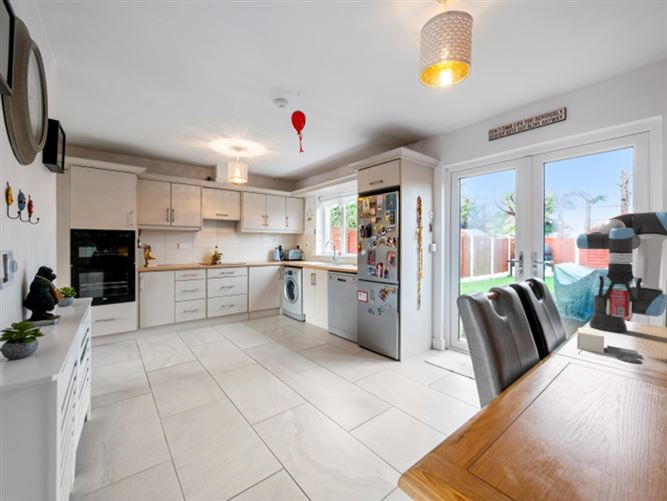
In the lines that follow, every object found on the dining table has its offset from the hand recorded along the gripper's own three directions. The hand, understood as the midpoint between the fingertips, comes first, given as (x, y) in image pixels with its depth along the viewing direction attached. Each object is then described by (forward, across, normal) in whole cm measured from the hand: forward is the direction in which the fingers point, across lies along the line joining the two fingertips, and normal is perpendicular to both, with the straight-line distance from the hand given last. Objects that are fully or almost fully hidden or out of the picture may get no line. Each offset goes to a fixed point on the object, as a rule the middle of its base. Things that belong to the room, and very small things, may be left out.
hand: (618, 315), depth 128 cm
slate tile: (+15, +1, -8) cm, 17 cm away
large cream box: (+15, -9, -8) cm, 19 cm away
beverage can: (+1, 0, 0) cm, 1 cm away
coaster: (+15, +2, -17) cm, 22 cm away
